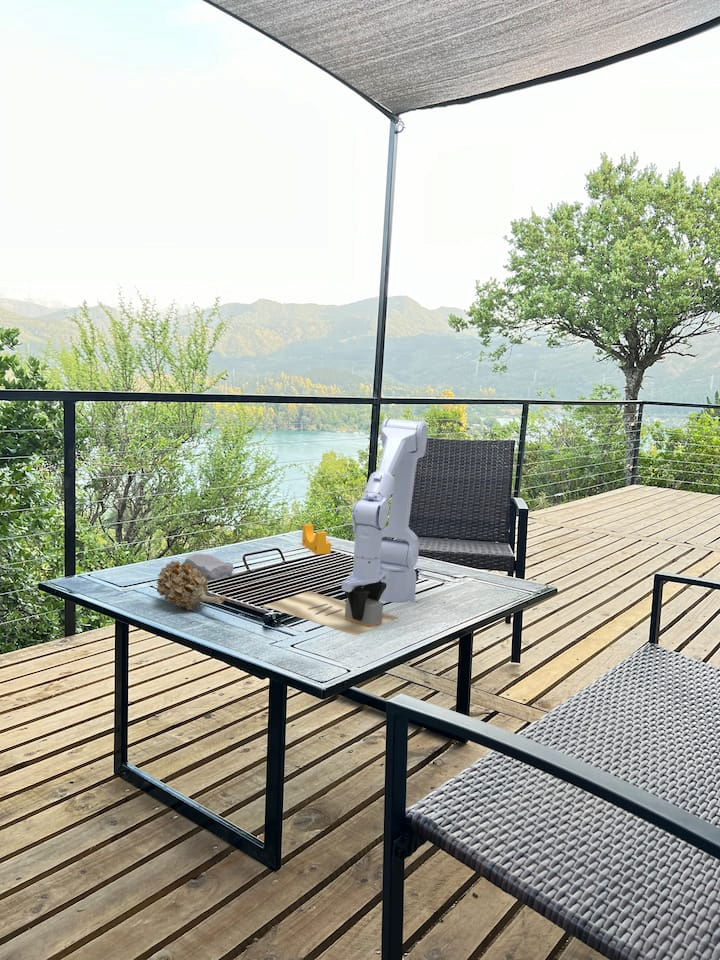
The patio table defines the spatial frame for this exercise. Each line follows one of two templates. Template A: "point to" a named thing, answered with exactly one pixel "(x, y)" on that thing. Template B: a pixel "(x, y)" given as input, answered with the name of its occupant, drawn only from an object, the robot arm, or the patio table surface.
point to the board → (323, 611)
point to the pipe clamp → (315, 540)
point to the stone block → (210, 566)
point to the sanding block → (367, 613)
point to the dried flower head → (184, 586)
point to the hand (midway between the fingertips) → (363, 616)
